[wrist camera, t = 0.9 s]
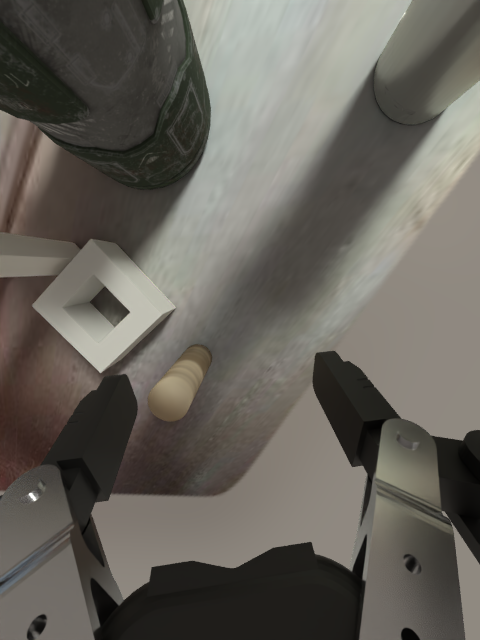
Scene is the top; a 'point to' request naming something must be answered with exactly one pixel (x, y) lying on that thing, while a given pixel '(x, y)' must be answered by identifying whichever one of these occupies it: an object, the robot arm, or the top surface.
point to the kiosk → (87, 293)
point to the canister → (108, 83)
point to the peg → (180, 384)
